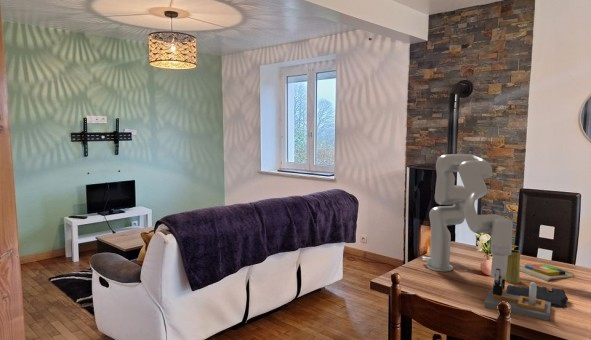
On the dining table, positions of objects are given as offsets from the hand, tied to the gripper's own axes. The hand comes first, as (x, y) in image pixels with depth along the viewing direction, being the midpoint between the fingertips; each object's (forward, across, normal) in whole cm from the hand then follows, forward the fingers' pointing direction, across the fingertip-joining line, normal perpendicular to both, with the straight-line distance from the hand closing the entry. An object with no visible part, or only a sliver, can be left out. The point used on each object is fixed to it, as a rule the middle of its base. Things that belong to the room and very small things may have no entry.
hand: (498, 291), depth 166 cm
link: (+3, 0, +7) cm, 8 cm away
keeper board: (+5, 0, +7) cm, 8 cm away
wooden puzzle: (+6, -51, +14) cm, 53 cm away
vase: (+5, -30, +2) cm, 30 cm away
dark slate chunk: (+6, -14, +12) cm, 20 cm away
